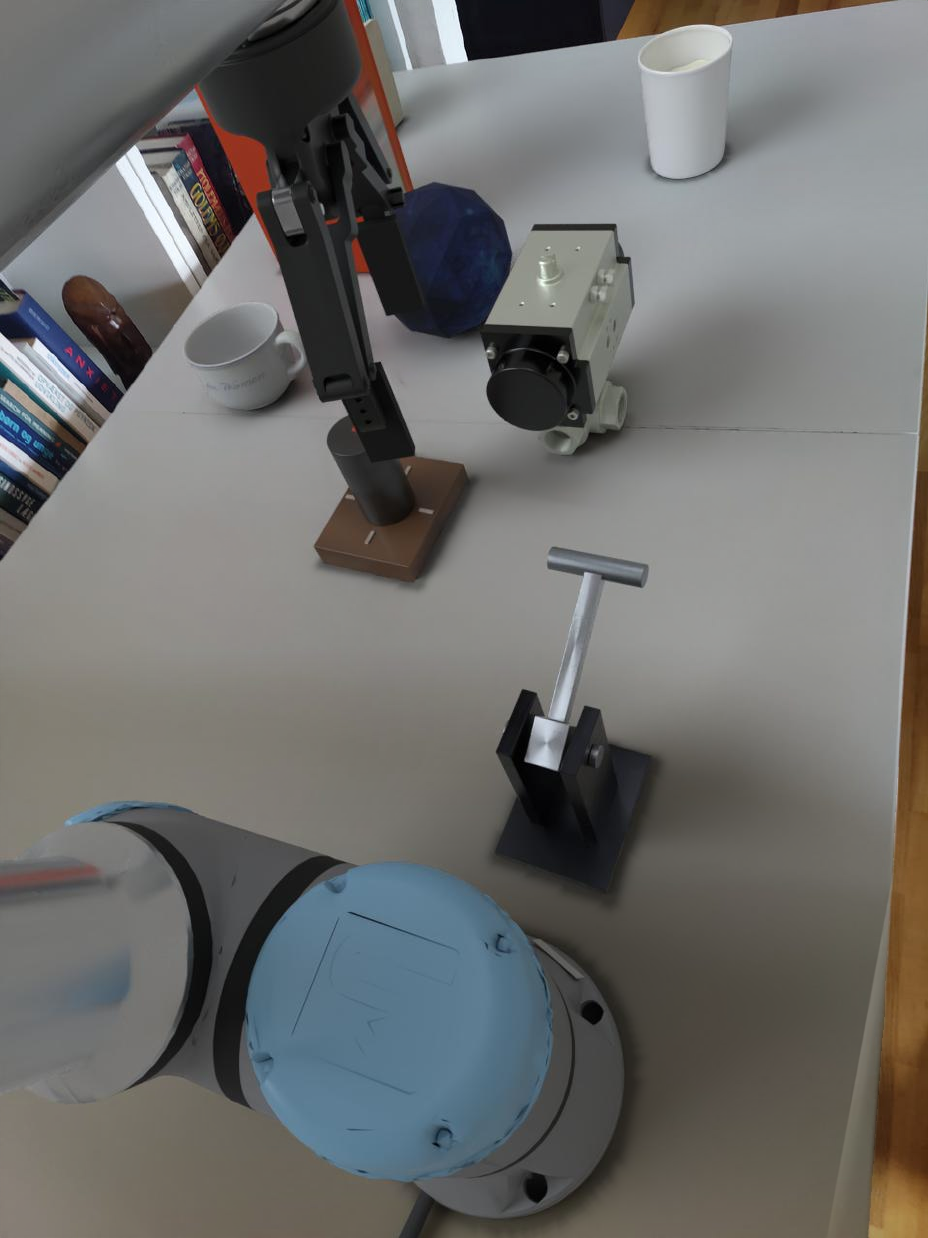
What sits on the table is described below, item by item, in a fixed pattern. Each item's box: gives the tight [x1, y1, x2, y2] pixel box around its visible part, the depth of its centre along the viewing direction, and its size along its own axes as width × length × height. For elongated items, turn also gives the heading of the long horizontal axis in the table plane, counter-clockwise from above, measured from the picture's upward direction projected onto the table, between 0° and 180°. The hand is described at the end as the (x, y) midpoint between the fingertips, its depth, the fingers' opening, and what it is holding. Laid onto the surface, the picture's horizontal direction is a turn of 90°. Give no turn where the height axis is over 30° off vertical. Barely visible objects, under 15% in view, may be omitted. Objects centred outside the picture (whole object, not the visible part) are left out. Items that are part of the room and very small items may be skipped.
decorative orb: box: [389, 181, 513, 339], centre depth 88 cm, size 14×15×15 cm
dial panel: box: [312, 455, 470, 584], centre depth 78 cm, size 12×10×3 cm
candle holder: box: [637, 24, 734, 180], centre depth 95 cm, size 10×10×12 cm
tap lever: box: [524, 546, 650, 772], centre depth 51 cm, size 13×6×2 cm, turn 157°
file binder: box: [194, 0, 415, 274], centre depth 92 cm, size 8×17×32 cm, turn 70°
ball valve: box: [479, 223, 636, 456], centre depth 73 cm, size 18×8×18 cm, turn 159°
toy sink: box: [363, 18, 405, 128], centre depth 116 cm, size 8×7×13 cm
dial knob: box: [326, 414, 415, 526], centre depth 73 cm, size 5×5×9 cm
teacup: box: [181, 300, 309, 411], centre depth 91 cm, size 14×11×8 cm
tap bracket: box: [494, 688, 653, 895], centre depth 55 cm, size 10×8×13 cm
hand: (400, 377), depth 54 cm, fingers open, 13 cm apart
